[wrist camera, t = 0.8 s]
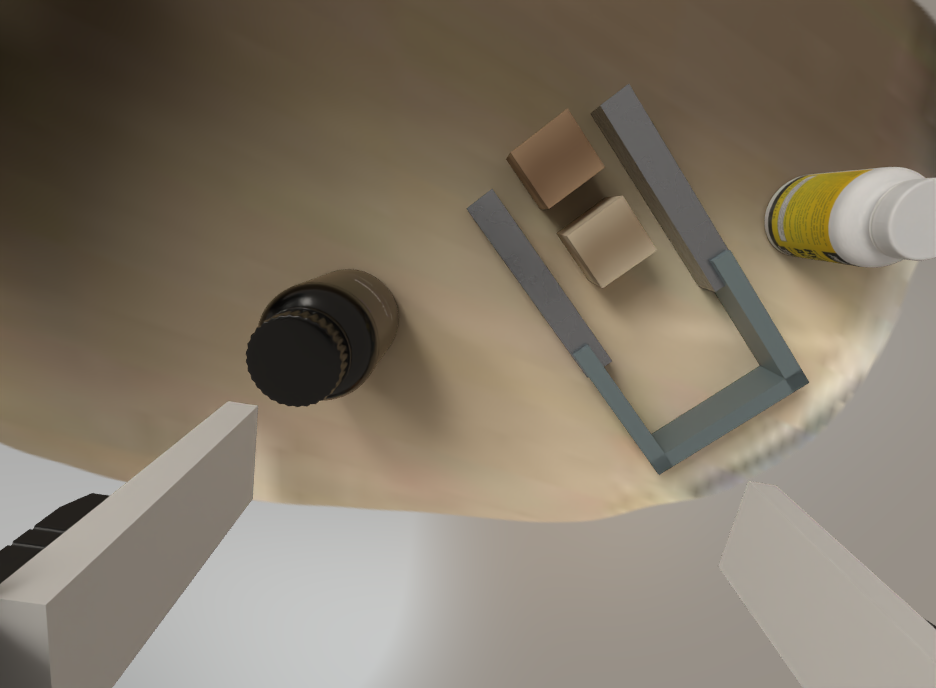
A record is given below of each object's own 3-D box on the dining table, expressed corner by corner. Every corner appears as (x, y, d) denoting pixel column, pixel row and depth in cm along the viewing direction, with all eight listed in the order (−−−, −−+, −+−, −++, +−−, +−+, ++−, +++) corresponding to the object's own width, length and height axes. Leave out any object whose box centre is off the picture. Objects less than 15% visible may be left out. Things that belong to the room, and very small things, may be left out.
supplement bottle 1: (409, 280, 35) (378, 314, 23) (389, 369, 37) (351, 442, 25) (313, 256, 35) (233, 278, 23) (298, 347, 36) (216, 411, 25)
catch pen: (565, 344, 36) (574, 356, 33) (708, 247, 34) (730, 250, 31) (644, 455, 38) (658, 475, 35) (782, 368, 36) (809, 382, 34)
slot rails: (466, 208, 34) (466, 208, 31) (616, 93, 32) (628, 83, 29) (579, 366, 37) (587, 377, 34) (723, 269, 35) (742, 273, 32)
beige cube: (556, 233, 34) (567, 236, 30) (605, 197, 34) (623, 195, 30) (588, 279, 35) (602, 288, 31) (636, 245, 34) (657, 250, 30)
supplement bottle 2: (756, 258, 34) (865, 276, 25) (766, 176, 33) (884, 162, 24) (835, 255, 34) (974, 272, 25) (848, 173, 33) (1000, 157, 23)
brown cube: (505, 159, 33) (510, 152, 29) (556, 120, 32) (567, 108, 28) (540, 209, 34) (548, 209, 30) (589, 172, 33) (604, 167, 29)
